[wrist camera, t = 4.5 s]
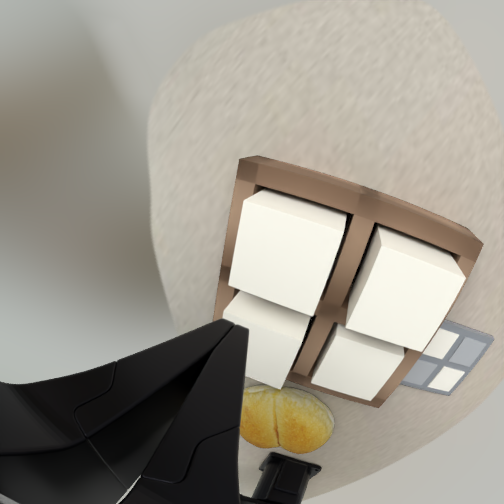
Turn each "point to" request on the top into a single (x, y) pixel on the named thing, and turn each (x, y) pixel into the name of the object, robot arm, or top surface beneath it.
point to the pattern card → (448, 358)
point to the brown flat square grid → (341, 252)
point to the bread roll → (285, 419)
